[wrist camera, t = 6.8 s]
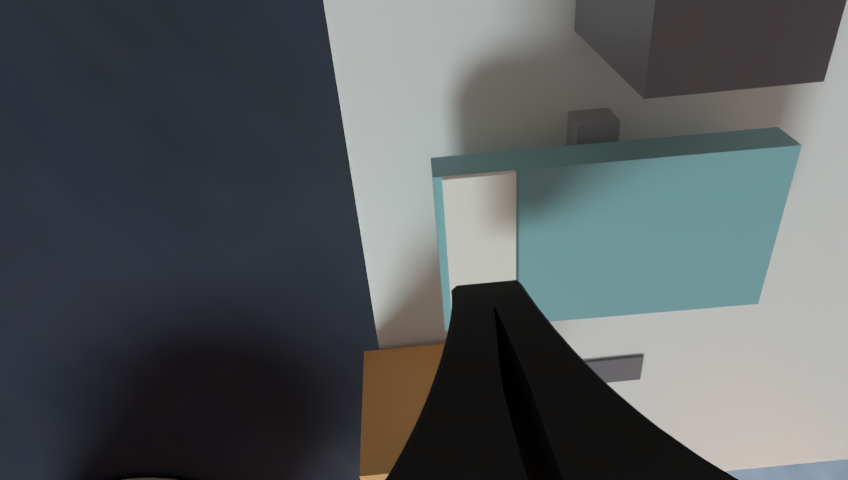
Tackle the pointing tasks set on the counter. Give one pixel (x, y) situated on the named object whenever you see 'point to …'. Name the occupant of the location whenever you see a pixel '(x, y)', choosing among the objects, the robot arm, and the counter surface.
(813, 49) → the charcoal fader
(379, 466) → the block
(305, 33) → the counter surface
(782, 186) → the teal flat block
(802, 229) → the panel
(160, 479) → the teacup with lid
